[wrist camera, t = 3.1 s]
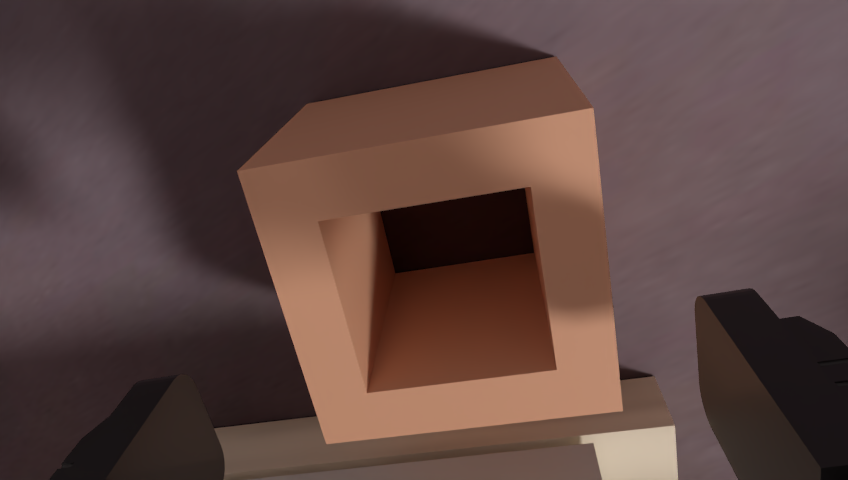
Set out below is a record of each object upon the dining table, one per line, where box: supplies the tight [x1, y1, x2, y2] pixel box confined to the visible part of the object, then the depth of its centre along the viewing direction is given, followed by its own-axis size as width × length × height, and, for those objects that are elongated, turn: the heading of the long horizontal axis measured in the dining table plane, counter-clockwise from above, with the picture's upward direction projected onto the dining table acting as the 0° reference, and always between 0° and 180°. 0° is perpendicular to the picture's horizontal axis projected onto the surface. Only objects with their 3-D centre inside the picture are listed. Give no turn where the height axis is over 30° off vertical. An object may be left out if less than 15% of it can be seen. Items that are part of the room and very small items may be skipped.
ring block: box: [237, 57, 623, 444], centre depth 14 cm, size 6×6×5 cm
